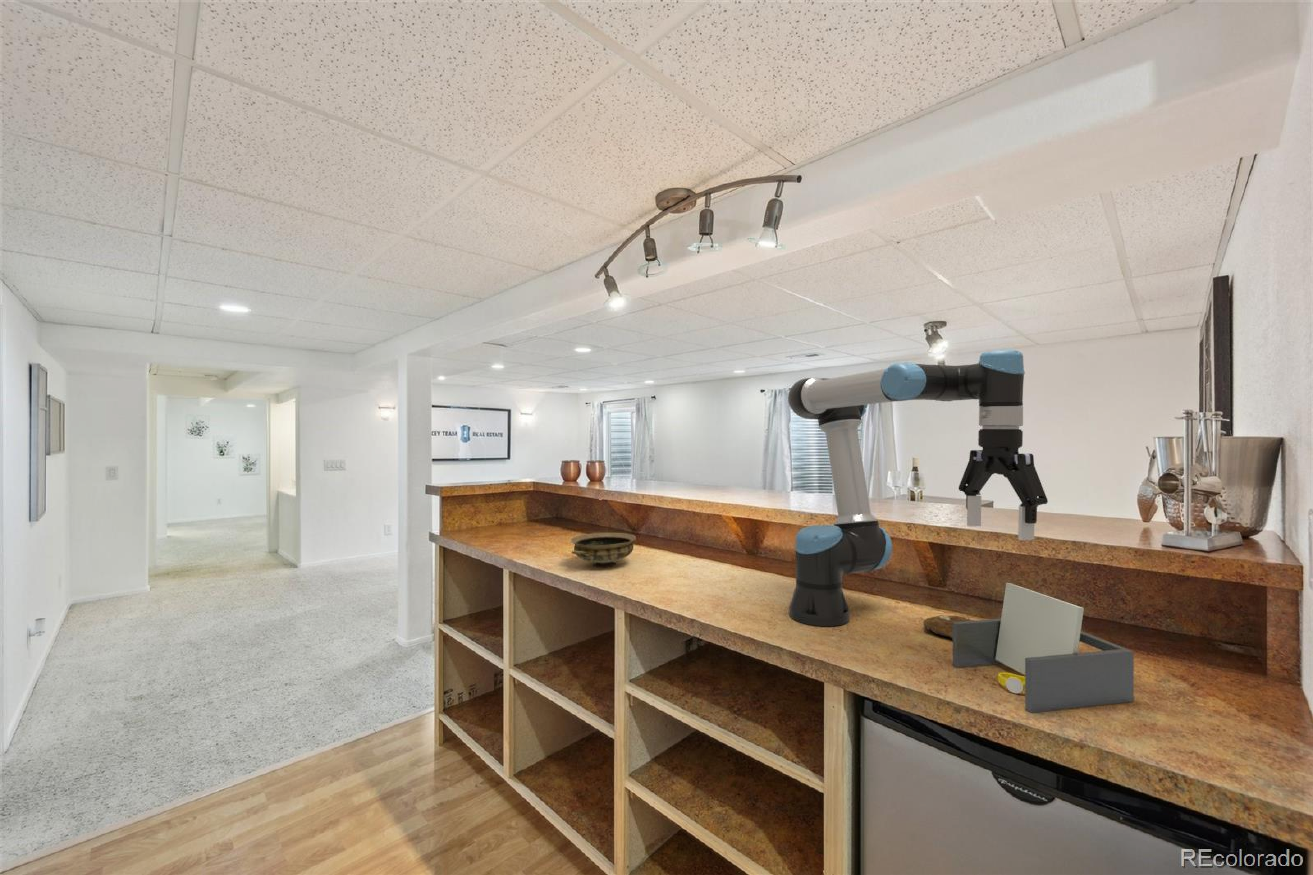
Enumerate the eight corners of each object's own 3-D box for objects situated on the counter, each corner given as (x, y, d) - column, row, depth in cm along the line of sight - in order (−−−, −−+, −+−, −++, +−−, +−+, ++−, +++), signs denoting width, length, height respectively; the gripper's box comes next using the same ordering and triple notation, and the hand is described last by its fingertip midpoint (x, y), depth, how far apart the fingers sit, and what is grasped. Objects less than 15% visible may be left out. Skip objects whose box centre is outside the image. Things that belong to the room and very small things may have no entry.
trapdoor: (999, 659, 111) (995, 659, 111) (1010, 583, 111) (1006, 582, 111) (1071, 697, 95) (1066, 697, 95) (1083, 608, 95) (1079, 607, 95)
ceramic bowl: (609, 553, 217) (608, 528, 217) (654, 561, 202) (654, 535, 202) (551, 568, 194) (550, 540, 194) (597, 579, 179) (597, 549, 179)
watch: (1001, 681, 105) (994, 687, 101) (1001, 666, 105) (994, 672, 101) (1038, 691, 101) (1032, 698, 97) (1038, 676, 101) (1032, 682, 97)
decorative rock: (1002, 639, 126) (933, 625, 136) (1001, 621, 126) (933, 609, 137) (989, 651, 118) (918, 635, 128) (989, 632, 118) (917, 618, 129)
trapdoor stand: (952, 665, 111) (952, 622, 111) (1040, 657, 114) (1040, 615, 114) (1031, 712, 92) (1031, 660, 92) (1133, 701, 95) (1133, 651, 95)
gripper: (941, 427, 120) (940, 521, 120) (1035, 428, 95) (1033, 547, 96) (972, 427, 121) (970, 520, 121) (1073, 428, 96) (1070, 545, 97)
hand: (998, 532), depth 109 cm, fingers open, 13 cm apart
